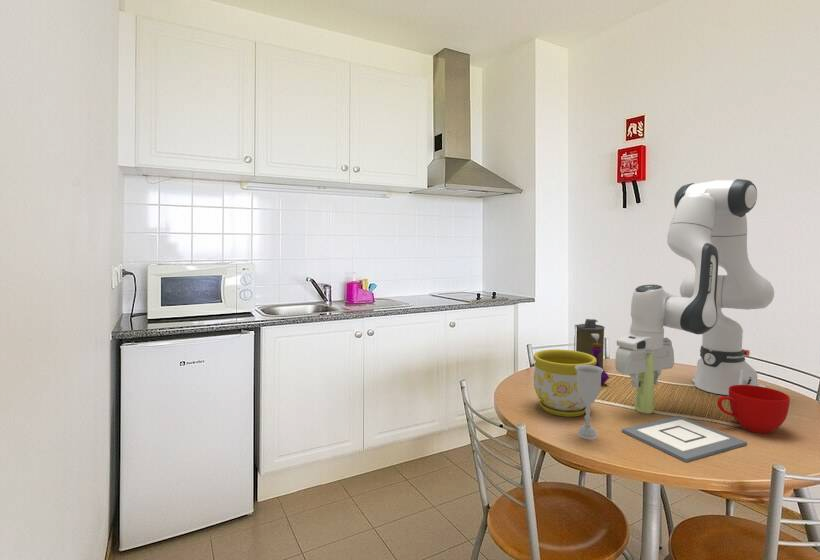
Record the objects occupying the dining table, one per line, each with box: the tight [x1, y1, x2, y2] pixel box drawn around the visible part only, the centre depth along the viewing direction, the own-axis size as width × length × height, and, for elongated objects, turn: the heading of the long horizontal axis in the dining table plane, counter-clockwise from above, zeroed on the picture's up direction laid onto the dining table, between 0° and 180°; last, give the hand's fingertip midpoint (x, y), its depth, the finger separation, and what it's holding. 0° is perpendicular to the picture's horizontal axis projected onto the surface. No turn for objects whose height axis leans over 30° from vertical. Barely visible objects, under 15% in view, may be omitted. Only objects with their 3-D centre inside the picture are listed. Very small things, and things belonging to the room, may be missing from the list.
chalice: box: [575, 365, 604, 441], centre depth 116 cm, size 7×7×18 cm
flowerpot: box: [533, 349, 597, 418], centre depth 134 cm, size 18×18×16 cm
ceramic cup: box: [717, 385, 791, 434], centre depth 120 cm, size 13×17×10 cm
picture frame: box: [621, 415, 748, 463], centre depth 115 cm, size 22×18×1 cm
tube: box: [634, 351, 655, 415], centre depth 132 cm, size 6×5×20 cm
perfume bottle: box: [591, 334, 610, 386], centre depth 158 cm, size 8×8×18 cm
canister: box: [573, 318, 606, 369], centre depth 175 cm, size 11×10×20 cm
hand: (644, 385), depth 132 cm, fingers open, 5 cm apart
